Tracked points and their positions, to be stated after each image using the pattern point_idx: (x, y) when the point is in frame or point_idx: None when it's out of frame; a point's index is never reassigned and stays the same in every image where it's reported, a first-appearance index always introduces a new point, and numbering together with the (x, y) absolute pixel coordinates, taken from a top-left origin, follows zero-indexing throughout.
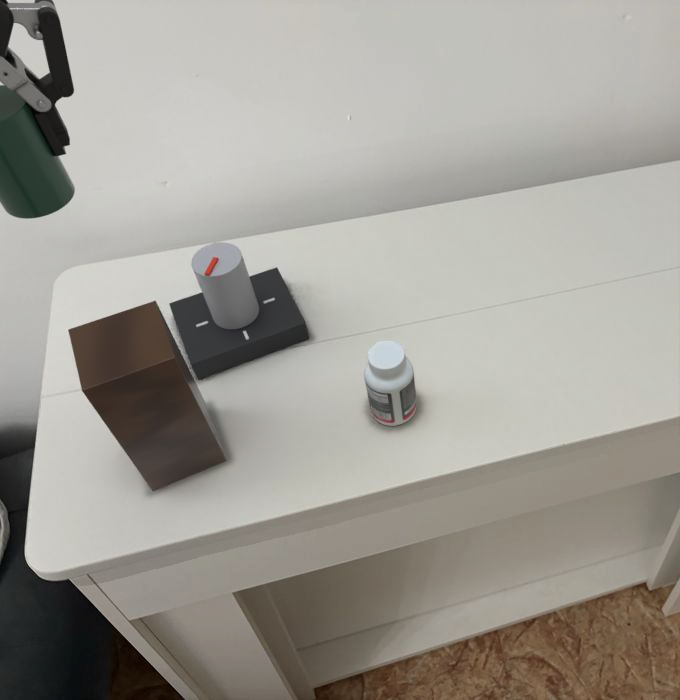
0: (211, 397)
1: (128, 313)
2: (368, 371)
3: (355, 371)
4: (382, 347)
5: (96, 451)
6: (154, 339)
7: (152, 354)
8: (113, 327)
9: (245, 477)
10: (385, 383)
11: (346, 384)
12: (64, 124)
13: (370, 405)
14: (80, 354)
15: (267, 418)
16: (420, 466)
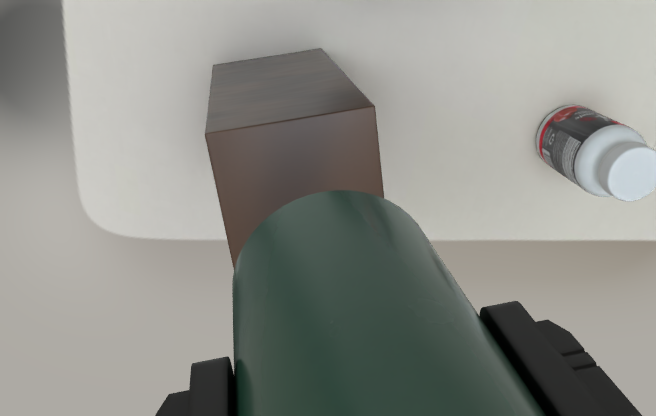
0: (329, 28)
1: (321, 127)
2: (590, 163)
3: (543, 52)
4: (637, 160)
5: (151, 75)
6: None
7: None
8: (291, 155)
9: None
10: (601, 191)
11: (523, 73)
12: (581, 350)
13: (547, 149)
14: (232, 206)
15: (401, 97)
16: (556, 228)
